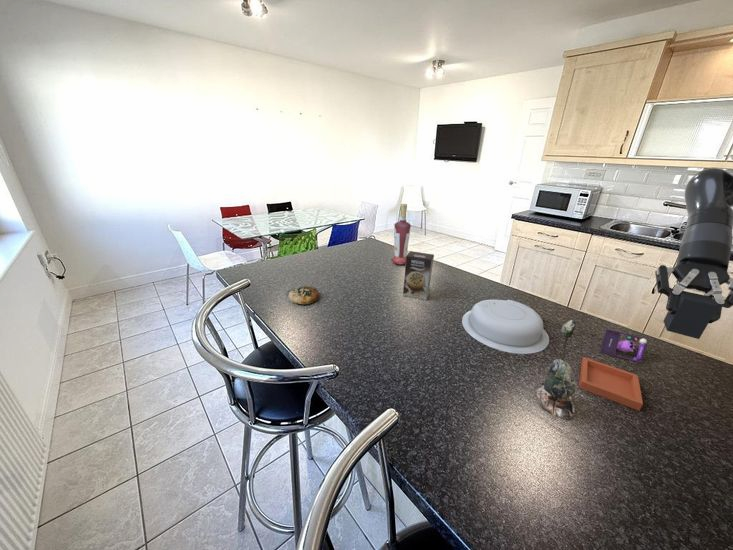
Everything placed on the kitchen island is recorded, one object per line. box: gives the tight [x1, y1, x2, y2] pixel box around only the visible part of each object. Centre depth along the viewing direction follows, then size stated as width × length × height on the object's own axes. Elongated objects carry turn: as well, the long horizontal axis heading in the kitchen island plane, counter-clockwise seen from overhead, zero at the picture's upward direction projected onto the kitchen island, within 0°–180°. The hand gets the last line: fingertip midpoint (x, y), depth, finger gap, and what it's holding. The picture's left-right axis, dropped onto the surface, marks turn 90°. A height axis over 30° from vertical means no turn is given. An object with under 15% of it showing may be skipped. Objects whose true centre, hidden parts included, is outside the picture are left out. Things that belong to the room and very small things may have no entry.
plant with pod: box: [534, 319, 578, 420], centre depth 61 cm, size 8×11×20 cm
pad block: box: [662, 290, 718, 340], centre depth 63 cm, size 5×5×8 cm
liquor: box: [392, 203, 412, 266], centre depth 134 cm, size 7×7×28 cm
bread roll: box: [288, 285, 320, 306], centre depth 106 cm, size 11×11×5 cm
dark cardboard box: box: [402, 250, 435, 301], centre depth 108 cm, size 9×6×16 cm
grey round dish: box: [461, 299, 550, 355], centre depth 91 cm, size 25×25×6 cm
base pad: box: [578, 356, 644, 412], centre depth 70 cm, size 11×11×2 cm
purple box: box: [599, 328, 650, 364], centre depth 81 cm, size 7×5×9 cm
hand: (691, 317), depth 61 cm, fingers closed on pad block, 5 cm apart
